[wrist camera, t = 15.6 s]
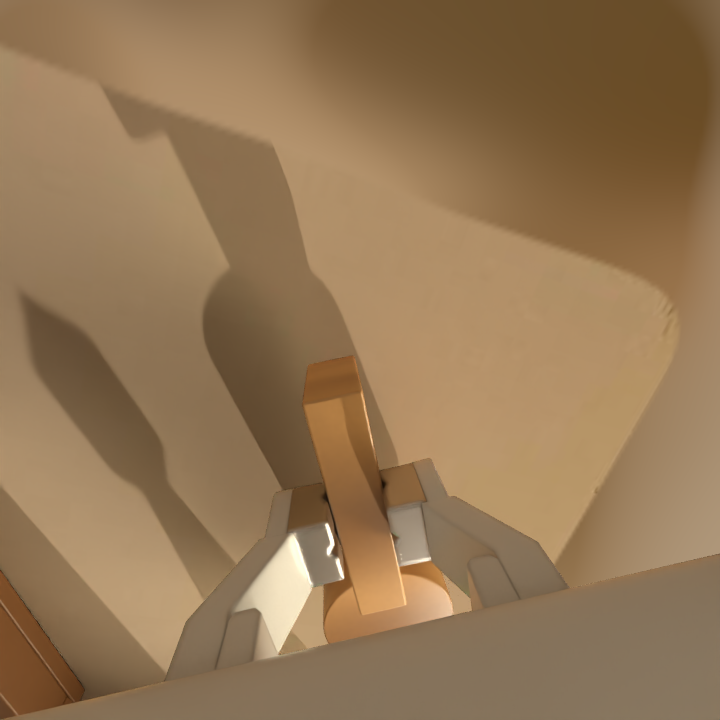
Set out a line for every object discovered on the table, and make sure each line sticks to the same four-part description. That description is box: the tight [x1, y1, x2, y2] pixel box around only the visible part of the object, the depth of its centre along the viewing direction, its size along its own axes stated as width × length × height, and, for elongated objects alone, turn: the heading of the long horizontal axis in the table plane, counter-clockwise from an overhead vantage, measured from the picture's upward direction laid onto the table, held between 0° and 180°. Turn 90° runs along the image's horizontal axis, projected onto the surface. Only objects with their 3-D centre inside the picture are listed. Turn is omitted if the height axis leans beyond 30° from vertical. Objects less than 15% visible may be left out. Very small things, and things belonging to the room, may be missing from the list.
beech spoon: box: [302, 356, 453, 644], centre depth 11 cm, size 11×4×3 cm, turn 11°
